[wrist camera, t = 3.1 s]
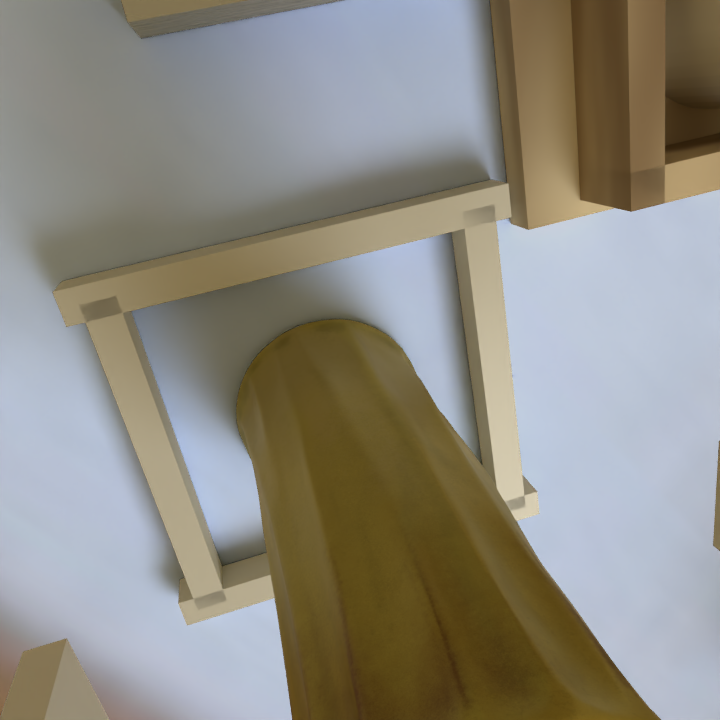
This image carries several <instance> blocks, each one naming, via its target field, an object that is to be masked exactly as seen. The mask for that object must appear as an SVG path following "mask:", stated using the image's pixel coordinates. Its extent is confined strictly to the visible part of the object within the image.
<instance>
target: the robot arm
mask: <svg viewBox="0 0 720 720" xmlns="http://www.w3.org/2000/svg"><path fill="white" fill-rule="evenodd" d="M713 546H715V547H716V548H717V549H718V550H719V551H720V441H719V450H718V468H717V486H716V504H715V522H714V539H713ZM0 720H109V718H108V716H107V714H106V712H105V710H104V708H103V707H102V705H101V703H100V701H99V699H98V697H97V695H96V693H95V691H94V689H93V687H92V686H91V684H90V682H89V680H88V678H87V676H86V674H85V672H84V670H83V668H82V666H81V665H80V663H79V661H78V659H77V657H76V655H75V653H74V651H73V649H72V647H71V645H70V644H69V642H68V640H67V638H66V639H63V640H60V641H57V642H53V643H50V644H47V645H43V646H40V647H37V648H33V649H30V650H27V651H24V652H23V653H22V656H21V659H20V662H19V664H18V667H17V670H16V673H15V676H14V679H13V682H12V685H11V687H10V690H9V693H8V696H7V699H6V702H5V705H4V708H3V710H2V713H1V716H0Z"/></svg>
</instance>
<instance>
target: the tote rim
mask: <svg viewBox="0 0 720 720" xmlns="http://www.w3.org/2000/svg"><path fill="white" fill-rule="evenodd" d="M510 217H512V216H511V205H510V194H509V184H508V183H505V182H501V181H496V180H487V181H483V182H479V183H475V184H470V185H466V186H462V187H458V188H453V189H449V190H445V191H441V192H437V193H432V194H428V195H424V196H420V197H415V198H411V199H407V200H403V201H398V202H394V203H390V204H386V205H382V206H377V207H373V208H369V209H365V210H360V211H356V212H352V213H348V214H344V215H339V216H335V217H331V218H327V219H322V220H318V221H314V222H310V223H306V224H301V225H297V226H293V227H289V228H284V229H280V230H276V231H272V232H268V233H263V234H259V235H255V236H251V237H246V238H242V239H238V240H234V241H230V242H225V243H221V244H217V245H213V246H208V247H204V248H200V249H196V250H192V251H187V252H183V253H179V254H175V255H170V256H166V257H162V258H158V259H154V260H149V261H145V262H141V263H137V264H132V265H128V266H124V267H120V268H116V269H111V270H107V271H103V272H99V273H94V274H90V275H86V276H82V277H78V278H73V279H69V280H65V281H62V282H61V283H60V284H59V285H58V286H57V287H56V289H55V290H54V291H53V295H54V297H55V300H56V302H57V305H58V307H59V310H60V312H61V314H62V317H63V319H64V322H65V324H66V327H68V326H72V325H76V324H80V323H86V325H87V328H88V330H89V333H90V336H91V338H92V341H93V343H94V346H95V348H96V351H97V353H98V356H99V359H100V361H101V364H102V366H103V369H104V371H105V374H106V377H107V379H108V382H109V384H110V387H111V389H112V392H113V394H114V397H115V400H116V402H117V405H118V407H119V410H120V412H121V415H122V417H123V420H124V423H125V425H126V428H127V430H128V433H129V435H130V438H131V441H132V443H133V446H134V448H135V451H136V453H137V456H138V458H139V461H140V464H141V466H142V469H143V471H144V474H145V476H146V479H147V482H148V484H149V487H150V489H151V492H152V494H153V497H154V499H155V502H156V505H157V507H158V510H159V512H160V515H161V517H162V520H163V523H164V525H165V528H166V530H167V533H168V535H169V538H170V540H171V543H172V546H173V548H174V551H175V553H176V556H177V558H178V561H179V564H180V566H181V569H182V571H183V574H184V576H185V578H182V579H180V584H179V601H178V604H179V606H180V609H181V611H182V614H183V616H184V619H185V621H186V624H187V625H190V624H193V623H197V622H200V621H203V620H206V619H209V618H212V617H216V616H219V615H222V614H225V613H228V612H231V611H234V610H238V609H241V608H244V607H247V606H250V605H253V604H257V603H260V602H263V601H266V600H269V599H272V598H275V597H274V592H273V587H272V581H271V575H270V569H269V563H268V557H267V553H264V554H261V555H257V556H254V557H251V558H248V559H244V560H241V561H238V562H235V563H231V564H228V565H225V566H222V565H221V562H220V559H219V557H218V554H217V551H216V548H215V545H214V543H213V540H212V537H211V534H210V531H209V528H208V526H207V523H206V520H205V517H204V514H203V512H202V509H201V506H200V503H199V500H198V498H197V495H196V492H195V489H194V486H193V484H192V481H191V478H190V475H189V472H188V470H187V467H186V464H185V461H184V458H183V456H182V453H181V450H180V447H179V444H178V442H177V439H176V436H175V433H174V430H173V428H172V425H171V422H170V419H169V416H168V413H167V411H166V408H165V405H164V402H163V399H162V397H161V394H160V391H159V388H158V385H157V383H156V380H155V377H154V374H153V371H152V369H151V366H150V363H149V360H148V357H147V355H146V352H145V349H144V346H143V343H142V341H141V338H140V335H139V332H138V329H137V327H136V324H135V321H134V318H133V315H132V313H131V311H133V310H137V309H141V308H145V307H149V306H153V305H158V304H162V303H166V302H170V301H174V300H178V299H182V298H186V297H190V296H194V295H198V294H202V293H206V292H210V291H214V290H218V289H222V288H226V287H230V286H235V285H239V284H243V283H247V282H251V281H255V280H259V279H263V278H267V277H271V276H275V275H279V274H283V273H287V272H291V271H295V270H299V269H303V268H308V267H312V266H316V265H320V264H324V263H328V262H332V261H336V260H340V259H344V258H348V257H352V256H356V255H360V254H364V253H368V252H372V251H376V250H381V249H385V248H389V247H393V246H397V245H401V244H405V243H409V242H413V241H417V240H421V239H425V238H429V237H433V236H437V235H441V234H445V233H449V232H451V233H452V240H453V248H454V255H455V263H456V270H457V278H458V285H459V293H460V300H461V308H462V315H463V323H464V330H465V338H466V345H467V353H468V361H469V368H470V376H471V383H472V391H473V398H474V406H475V413H476V421H477V428H478V436H479V443H480V451H481V458H482V466H483V467H484V469H485V470H486V471H487V473H488V474H489V476H490V477H491V479H492V481H493V482H494V484H495V486H496V488H497V490H498V491H499V493H500V495H501V497H502V498H503V500H504V501H505V503H506V505H507V506H508V508H509V510H510V511H511V513H512V515H513V516H514V518H515V520H516V521H518V520H521V519H524V518H528V517H531V516H534V515H537V514H539V505H538V494H537V491H536V490H535V488H534V487H533V486H532V485H531V484H530V483H529V482H528V480H527V479H526V478H525V477H524V476H523V475H522V467H521V457H520V448H519V438H518V428H517V419H516V409H515V399H514V390H513V380H512V370H511V361H510V351H509V341H508V332H507V322H506V312H505V303H504V293H503V283H502V274H501V264H500V254H499V245H498V235H497V225H496V221H498V220H502V219H506V218H510Z"/></svg>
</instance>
